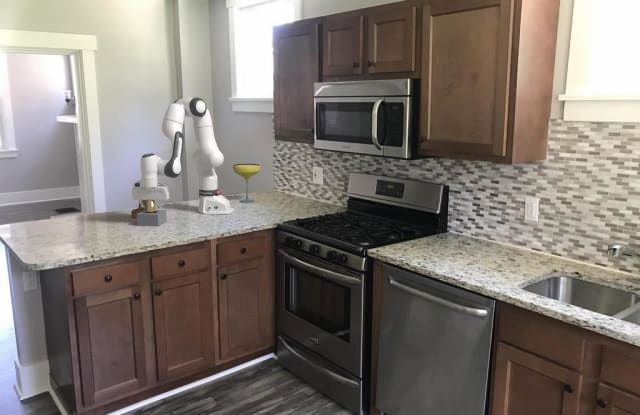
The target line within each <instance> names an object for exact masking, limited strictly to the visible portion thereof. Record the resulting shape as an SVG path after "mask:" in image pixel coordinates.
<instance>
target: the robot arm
mask: <svg viewBox="0 0 640 415" xmlns="http://www.w3.org/2000/svg"><path fill="white" fill-rule="evenodd" d="M186 117H187V118H192V120H193V128H194V136H195V140H196V142H197V143H198V145H199V147H200V148H199V147H198V148H196V149H195V150H193V152H192V154H191V158H192V161H193V162H194V164H195V166H196V170H197V174H198V180H199V182H198V183H199V189H198V196H199V197H198V198H199V203H198V209H197V212H198V213H200V214H203V215H230V214H232V213H234V212H235V208H234V207H232V206H231V202H230V200H229V199H227V198H226V197H225V196H224V195H223V194H222V189H219V184H218V179H219V178H218V174H217V173H216V171H215V169H214V168H219V167H221V166H222V165H223V164H224V162H225V157H224V154H223V153H222V152H221V151H220V148H219V146H218V144H217V142H216V138H215V132H214V127H213V119H212V116H211V113H210V110H209V109H208V108H207V104H206V101H205V100H204V99H203V98H200V97H197V96H196V97H194V96H193V97H192V96H187V97H183V98H182V97H180V98H177V99H176V100H174V102H173V103H171V104H169V105H168V107H167V109H166V111H165V113H164V117H163V121H162V124H161V131H162V134H163V135H164V136H165V137H166V138H167V139H169V140H170V141H171V145H172V146H171V150H170V152H171V153H170V157H169V159H168V158H163V157H160V156H158V155H156V153H152V152H150V153H145V154H143V155H141V157H140V172H141V179H140V180H138V181H136V182H133V183H132V190H131V198H132V200H134V201H136V200H137V201H138V203H139V202H140V204H141V208H145V204H143V202H142V201H143V200H155V201H158V202H159V204H157V209H162V206H163V203H164V201H168V200H169V199H170V192H169V188H170V187H169V185H168V184H167V183H160V182H159V176H161V177H168V178H172V179H176V178H178V177H179V176H180V175H181V173H182V170H183V165H182V162H183V161H182V160H183V159H182V158H183V152H184V143H185V142H184V141H185V140H184V139H185V138H184V134H183V128H184V127H183V126H184V122H185V118H186Z"/></svg>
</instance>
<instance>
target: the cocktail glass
mask: <svg viewBox="0 0 640 415" xmlns="http://www.w3.org/2000/svg"><path fill="white" fill-rule="evenodd" d="M232 169H233V172H234V173H235V174H237V175H239V176H241V177H242V178H244V180H245V181H246V183H245V184H248V181H249V179H251V178H252V177H253V176H255V175H256V174H258V173H259V172H260V171H261V166H260V164H256V163H237V164H234V165H233V166H232ZM248 192H249V190H248V187H246V196H245V197H246V198H245V199H241V200H239V201H238V202H239V203H242V204H251V203H255V202H256V200H254V199H249V194H248Z"/></svg>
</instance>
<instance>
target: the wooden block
mask: <svg viewBox="0 0 640 415" xmlns="http://www.w3.org/2000/svg"><path fill="white" fill-rule="evenodd" d="M142 202H143V204H145V208H141V204H140V202H139V201H138V207H137V208H134V209H131V213H130V214H131V219H137V214H138V213H140V212H142V211H144V210H148V208H147V200H143V201H142Z"/></svg>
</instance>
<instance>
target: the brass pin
mask: <svg viewBox="0 0 640 415" xmlns="http://www.w3.org/2000/svg"><path fill="white" fill-rule="evenodd" d="M155 202H156V200H147V208H148V213H155V210H156V205H155V204H156V203H155Z"/></svg>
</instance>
